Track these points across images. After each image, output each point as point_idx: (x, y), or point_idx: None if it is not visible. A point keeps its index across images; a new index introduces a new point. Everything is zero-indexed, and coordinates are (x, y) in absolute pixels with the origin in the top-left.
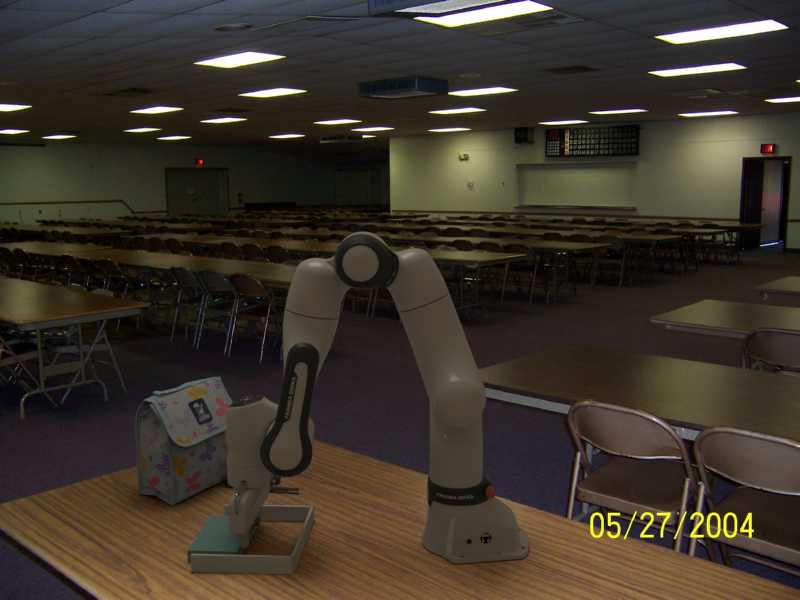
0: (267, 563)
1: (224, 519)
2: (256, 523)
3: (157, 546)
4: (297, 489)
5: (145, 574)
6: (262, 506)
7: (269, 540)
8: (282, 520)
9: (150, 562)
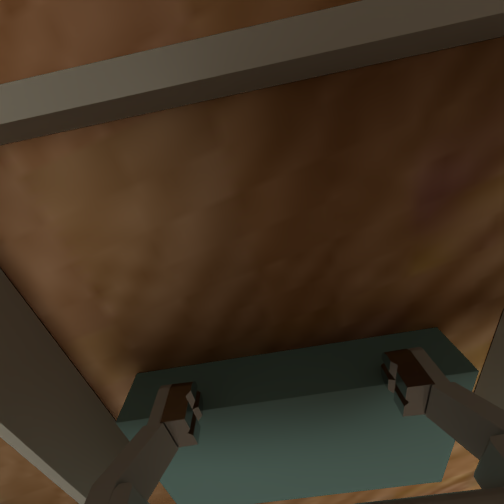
0: None
1: (199, 483)
2: (194, 400)
3: (330, 497)
4: None
5: (468, 471)
6: (99, 487)
7: (230, 291)
8: (29, 311)
9: None
